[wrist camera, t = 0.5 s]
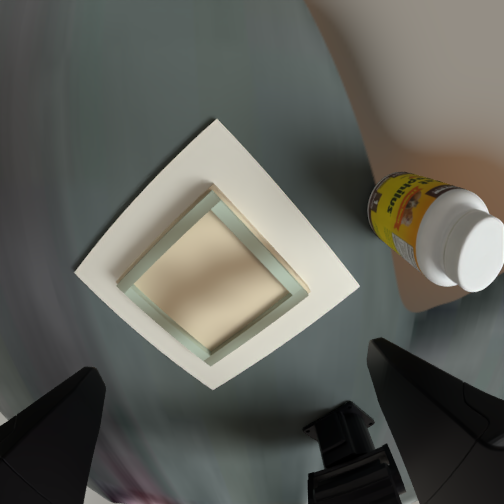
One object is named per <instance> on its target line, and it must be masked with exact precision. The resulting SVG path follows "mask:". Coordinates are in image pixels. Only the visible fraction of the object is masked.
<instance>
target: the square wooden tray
mask: <svg viewBox="0 0 504 504" xmlns="http://www.w3.org/2000/svg"><path fill="white" fill-rule="evenodd" d="M116 283H117V287H118V288H119V289H120V290H121V291H122V292H123V293H124V294H125V295H126V296H127V297H128V298H129V299H130V300H131V301H133V302H134V303H135V304H136V305H137V306H138V307H139V308H140V309H141V310H142V311H144V312H145V313H146V314H147V315H148V316H149V317H150V318H152V319H153V320H154V321H155V322H156V323H157V324H158V325H160V326H161V327H162V328H163V329H164V330H165V331H167V332H168V333H169V334H170V335H171V336H173V337H174V338H175V339H176V340H177V341H179V342H180V343H181V344H182V345H184V346H185V347H186V348H187V349H188V350H190V351H191V352H192V353H194V354H195V355H196V356H197V357H199V358H200V359H201V360H202V361H204V362H205V363H206V364H208V365H209V366H210V367H211V366H212V365H214V364H215V363H217V362H218V361H220V360H221V359H223V358H224V357H226V356H227V355H228V354H230V353H231V352H233V351H234V350H236V349H237V348H239V347H240V346H241V345H243V344H244V343H246V342H247V341H248V340H250V339H251V338H253V337H254V336H255V335H257V334H258V333H260V332H261V331H262V330H264V329H265V328H266V327H268V326H269V325H271V324H272V323H273V322H275V321H276V320H277V319H279V318H280V317H281V316H283V315H284V314H285V313H287V312H288V311H289V310H291V309H292V308H293V307H295V306H296V305H297V304H299V303H300V302H301V301H302V300H304V299H305V298H306V297H308V296H309V295H308V294H309V293H310V292H311V291H310V289H309V286H308V285H307V284H306V283H305V282H304V280H303V279H302V278H301V277H300V276H299V275H298V274H297V273H296V272H295V270H294V269H293V268H292V267H291V266H290V265H289V264H288V263H287V262H286V261H285V259H284V258H283V257H282V256H281V255H280V254H279V253H278V252H277V251H276V250H275V249H274V247H273V246H272V245H271V244H270V243H269V242H268V241H267V240H266V239H265V238H264V237H263V235H262V234H261V233H260V232H259V231H258V230H257V229H256V228H255V227H254V226H253V225H252V224H251V223H250V221H249V220H248V219H247V218H246V217H245V216H244V215H243V214H242V213H241V212H240V211H239V210H238V209H237V207H236V206H235V205H234V204H233V203H232V202H231V201H230V200H229V199H228V198H227V197H226V196H225V195H224V194H223V192H222V191H221V190H220V189H219V188H218V187H217V186H216V185H215V184H214V183H213V184H212V185H211V186H210V187H209V188H208V189H207V190H206V191H205V192H204V193H203V194H201V195H200V196H199V197H198V198H197V199H196V200H195V201H194V202H193V203H192V204H191V205H190V206H189V207H188V208H187V209H186V210H185V211H184V212H183V213H181V214H180V215H179V216H178V217H177V218H176V219H175V220H174V221H173V222H172V223H171V224H170V225H169V226H168V227H167V228H166V229H165V230H164V231H163V232H162V233H161V234H160V235H159V236H158V237H157V238H156V239H155V240H154V241H153V242H152V243H151V244H150V245H149V246H148V247H147V248H146V249H145V250H144V252H143V253H142V254H141V255H140V256H139V257H138V258H137V259H136V260H135V261H134V262H133V263H132V264H131V265H130V266H129V267H128V268H127V269H126V270H125V272H124V273H123V274H122V275H121V276H120V277H119V278H118V280H117V281H116Z"/></svg>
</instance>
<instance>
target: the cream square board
mask: <svg viewBox="0 0 504 504" xmlns="http://www.w3.org/2000/svg"><path fill="white" fill-rule="evenodd" d="M213 183H214V184H215V185H216V186H217V187H218V188H219V189H220V190H221V191H222V192H223V194H224V195H225V196H226V197H227V198H228V199H229V200H230V201H231V202H232V203H233V204H234V205H235V206H236V207H237V209H238V210H239V211H240V212H241V213H242V214H243V215H244V216H245V217H246V218H247V219H248V220H249V221H250V223H251V224H252V225H253V226H254V227H255V228H256V229H257V230H258V231H259V232H260V233H261V234H262V235H263V237H264V238H265V239H266V240H267V241H268V242H269V243H270V244H271V245H272V246H273V247H274V249H275V250H276V251H277V252H278V253H279V254H280V255H281V256H282V257H283V258H284V259H285V261H286V262H287V263H288V264H289V265H290V266H291V267H292V268H293V269H294V270H295V272H296V273H297V274H298V275H299V276H300V277H301V278H302V279H303V280H304V282H305V283H306V284H307V285H308V286H309V289H310V291H311V292H310V293H309V294H308V295H309V296H308V297H306V298H305V299H304V300H302V301H301V302H300V303H299V304H297V305H296V306H295V307H293V308H292V309H291V310H289V311H288V312H287V313H285V314H284V315H283V316H281V317H280V318H279V319H277V320H276V321H275V322H273V323H272V324H271V325H269V326H268V327H266V328H265V329H264V330H262V331H261V332H260V333H258V334H257V335H255V336H254V337H253V338H251V339H250V340H248V341H247V342H246V343H244V344H243V345H241V346H240V347H239V348H237V349H236V350H234V351H233V352H231V353H230V354H228V355H227V356H226V357H224V358H223V359H221V360H220V361H218V362H217V363H215V364H214V365H212V366H211V367H210V366H209V365H208V364H206V363H205V362H204V361H202V360H201V359H200V358H199V357H197V356H196V355H195V354H194V353H192V352H191V351H190V350H188V349H187V348H186V347H185V346H184V345H182V344H181V343H180V342H179V341H177V340H176V339H175V338H174V337H173V336H171V335H170V334H169V333H168V332H167V331H165V330H164V329H163V328H162V327H161V326H160V325H158V324H157V323H156V322H155V321H154V320H153V319H152V318H150V317H149V316H148V315H147V314H146V313H145V312H144V311H142V310H141V309H140V308H139V307H138V306H137V305H136V304H135V303H134V302H133V301H131V300H130V299H129V298H128V297H127V296H126V295H125V294H124V293H123V292H122V291H121V290H120V289H119V288H118V287H117V283H116V281H117V280H118V278H119V277H120V276H121V275H122V274H123V273H124V272H125V270H126V269H127V268H128V267H129V266H130V265H131V264H132V263H133V262H134V261H135V260H136V259H137V258H138V257H139V256H140V255H141V254H142V253H143V252H144V250H145V249H146V248H147V247H148V246H149V245H150V244H151V243H152V242H153V241H154V240H155V239H156V238H157V237H158V236H159V235H160V234H161V233H162V232H163V231H164V230H165V229H166V228H167V227H168V226H169V225H170V224H171V223H172V222H173V221H174V220H175V219H176V218H177V217H178V216H179V215H180V214H181V213H183V212H184V211H185V210H186V209H187V208H188V207H189V206H190V205H191V204H192V203H193V202H194V201H195V200H196V199H197V198H198V197H199V196H200V195H201V194H203V193H204V192H205V191H206V190H207V189H208V188H209V187H210V186H211V185H212V184H213ZM74 273H75V274H76V275H77V276H78V277H79V278H80V279H81V280H82V281H83V282H84V283H85V284H86V285H87V286H88V287H89V288H90V289H91V290H92V291H93V292H94V293H95V294H96V295H97V296H98V297H99V298H100V299H101V300H102V301H104V302H105V303H106V304H107V305H108V306H109V307H110V308H111V309H112V310H113V311H114V312H115V313H116V314H118V315H119V316H120V317H121V318H122V319H123V320H124V321H125V322H127V323H128V324H129V325H130V326H131V327H132V328H133V329H135V330H136V331H137V332H138V333H139V334H140V335H142V336H143V337H144V338H145V339H146V340H148V341H149V342H150V343H151V344H152V345H154V346H155V347H156V348H157V349H159V350H160V351H161V352H162V353H164V354H165V355H166V356H167V357H169V358H170V359H171V360H172V361H174V362H175V363H176V364H178V365H179V366H180V367H182V368H183V369H184V370H186V371H187V372H188V373H190V374H191V375H192V376H194V377H195V378H196V379H198V380H199V381H201V382H202V383H203V384H205V385H206V386H208V387H209V388H210V389H212V390H214V389H215V388H217V387H219V386H220V385H222V384H224V383H225V382H227V381H228V380H230V379H232V378H233V377H235V376H236V375H238V374H239V373H241V372H243V371H244V370H246V369H247V368H249V367H250V366H252V365H253V364H255V363H256V362H258V361H259V360H261V359H262V358H264V357H265V356H267V355H268V354H270V353H271V352H273V351H274V350H276V349H277V348H278V347H280V346H281V345H283V344H284V343H286V342H287V341H288V340H290V339H291V338H293V337H294V336H295V335H297V334H298V333H300V332H301V331H302V330H304V329H305V328H307V327H308V326H309V325H311V324H312V323H313V322H315V321H316V320H317V319H319V318H320V317H321V316H323V315H324V314H325V313H327V312H328V311H329V310H331V309H332V308H333V307H334V306H336V305H337V304H338V303H340V302H341V301H342V300H343V299H345V298H346V297H347V296H349V295H350V294H351V293H352V292H354V291H355V290H356V289H357V288H359V287H360V286H359V284H358V283H357V282H356V280H355V279H354V278H353V276H352V275H351V274H350V273H349V271H348V270H347V269H346V267H345V266H344V265H343V264H342V262H341V261H340V260H339V258H338V257H337V256H336V255H335V253H334V252H333V251H332V250H331V248H330V247H329V246H328V245H327V243H326V242H325V241H324V240H323V238H322V237H321V236H320V235H319V234H318V232H317V231H316V230H315V229H314V227H313V226H312V225H311V224H310V223H309V221H308V220H307V219H306V218H305V217H304V215H303V214H302V213H301V212H300V211H299V209H298V208H297V207H296V206H295V205H294V204H293V202H292V201H291V200H290V199H289V198H288V197H287V195H286V194H285V193H284V192H283V191H282V190H281V188H280V187H279V186H278V185H277V184H276V183H275V182H274V180H273V179H272V178H271V177H270V176H269V175H268V174H267V172H266V171H265V170H264V169H263V168H262V167H261V166H260V165H259V164H258V162H257V161H256V160H255V159H254V158H253V157H252V156H251V155H250V154H249V152H248V151H247V150H246V149H245V148H244V147H243V146H242V145H241V144H240V143H239V142H238V141H237V139H236V138H235V137H234V136H233V135H232V134H231V133H230V132H229V131H228V130H227V129H226V128H225V127H224V126H223V125H222V124H221V122H220V121H219V120H218V119H216V120H215V121H214V122H213V123H212V124H210V125H209V126H208V127H207V128H206V129H205V130H204V131H203V132H202V133H201V134H199V135H198V136H197V137H196V138H195V139H194V140H193V141H192V142H191V143H190V144H189V145H188V146H187V147H186V148H185V149H183V150H182V151H181V152H180V153H179V154H178V155H177V156H176V157H175V158H174V159H173V160H172V161H171V162H170V163H169V164H168V165H167V166H166V167H165V168H164V169H163V170H162V171H161V172H160V173H159V174H158V175H157V176H156V177H155V178H154V180H153V181H152V182H151V183H150V184H149V185H148V186H147V187H146V188H145V189H144V190H143V191H142V192H141V193H140V194H139V195H138V197H137V198H136V199H135V200H134V201H133V202H132V203H131V204H130V205H129V206H128V208H127V209H126V210H125V211H124V212H123V213H122V214H121V216H120V217H119V218H118V219H117V220H116V221H115V222H114V224H113V225H112V226H111V227H110V228H109V230H108V231H107V232H106V233H105V234H104V236H103V237H102V238H101V239H100V240H99V242H98V243H97V244H96V245H95V247H94V248H93V249H92V250H91V252H90V253H89V254H88V255H87V257H86V258H85V259H84V261H83V262H82V263H81V264H80V266H79V267H78V268H77V270H76V271H75V272H74Z"/></svg>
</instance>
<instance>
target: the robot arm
mask: <svg viewBox="0 0 504 504" xmlns="http://www.w3.org/2000/svg"><path fill="white" fill-rule="evenodd" d="M367 366H368V369H369V372H370V375H371V379H372V382H373V385H374V388H375V392H376V395H377V398H378V402H379V405H380V407H381V410H382V412H383V414H384V416H385V419H386V421H387V423H388V426H389V428H390V430H391V433H392V435H393V437H394V440H395V442H396V445H397V447H398V449H399V452H400V454H401V457H402V459H403V462H404V464H405V467H406V469H407V472H408V474H409V477H410V479H411V482H412V485H413V487H414V490H415V492H416V495H417V498H418V500H419V503H420V504H504V400H502V399H499V398H497V397H495V396H492V395H490V394H488V393H485V392H483V391H481V390H479V389H477V388H475V387H473V386H471V385H469V384H468V383H466V382H463V381H462V380H460V379H458V378H456V377H454V376H452V375H451V374H449V373H447V372H445V371H443V370H441V369H439V368H438V367H436V366H434V365H432V364H430V363H428V362H426V361H425V360H423V359H421V358H419V357H417V356H415V355H414V354H412V353H410V352H408V351H406V350H404V349H403V348H401V347H399V346H397V345H395V344H393V343H392V342H390V341H388V340H386V339H384V338H382V337H380V338H376V339H372V340H370V341H369V346H368V354H367ZM105 393H106V386H105V383H104V381H103V379H102V377H101V376H100V374H99V372H98V370H97V369H96V368H95V367H84V368H82V369H81V370H79V371H78V372H77V373H75V374H74V375H72V376H71V377H69V378H68V379H67V380H65V381H64V382H62V383H61V384H60V385H58V386H57V387H55V388H54V389H52V390H51V391H50V392H48V393H47V394H45V395H44V396H43V397H41V398H40V399H38V400H37V401H35V402H34V403H33V404H31V405H30V406H28V407H27V408H26V409H24V410H23V411H21V412H20V413H18V414H17V416H14V417H13V418H11V419H10V420H8V421H7V422H6V423H4V424H3V425H1V426H0V504H83V503H84V498H85V492H86V487H87V482H88V477H89V472H90V467H91V463H92V458H93V454H94V449H95V445H96V441H97V437H98V433H99V429H100V424H101V418H102V411H103V405H104V399H105ZM374 423H375V422H374V420H373V419H372V418H371V417H370V416H369V415H367V414H366V413H365V412H364V411H363V410H361V409H360V408H359V407H358V406H356V405H355V404H354V403H353V402H348V403H346V404H344V405H343V406H341V407H339V408H338V409H336V410H334V411H333V412H331V413H329V414H328V415H326V416H324V417H322V418H321V419H319V420H317V421H315V422H314V423H312V424H310V425H308V426H306V427H304V428H303V432H304V433H305V434H306V435H308V436H310V437H311V438H313V439H315V440H317V441H318V443H319V448H320V452H321V456H322V461H323V465H324V470H321V471H318V472H312V473H309V474H308V504H402V503H401V500H400V497H399V495H400V494H403V493H405V492H406V490H405V487H404V484H403V481H402V479H401V476H400V473H399V471H398V468H397V466H396V463H395V461H394V459H393V456H392V454H391V452H390V449H389V447H388V444H384V445H382V447H380V448H377V449H375V447H374V444H373V442H372V439H371V436H370V434H369V431H368V428H369V427H370V426H372V425H373V424H374ZM388 464H389V465H388Z"/></svg>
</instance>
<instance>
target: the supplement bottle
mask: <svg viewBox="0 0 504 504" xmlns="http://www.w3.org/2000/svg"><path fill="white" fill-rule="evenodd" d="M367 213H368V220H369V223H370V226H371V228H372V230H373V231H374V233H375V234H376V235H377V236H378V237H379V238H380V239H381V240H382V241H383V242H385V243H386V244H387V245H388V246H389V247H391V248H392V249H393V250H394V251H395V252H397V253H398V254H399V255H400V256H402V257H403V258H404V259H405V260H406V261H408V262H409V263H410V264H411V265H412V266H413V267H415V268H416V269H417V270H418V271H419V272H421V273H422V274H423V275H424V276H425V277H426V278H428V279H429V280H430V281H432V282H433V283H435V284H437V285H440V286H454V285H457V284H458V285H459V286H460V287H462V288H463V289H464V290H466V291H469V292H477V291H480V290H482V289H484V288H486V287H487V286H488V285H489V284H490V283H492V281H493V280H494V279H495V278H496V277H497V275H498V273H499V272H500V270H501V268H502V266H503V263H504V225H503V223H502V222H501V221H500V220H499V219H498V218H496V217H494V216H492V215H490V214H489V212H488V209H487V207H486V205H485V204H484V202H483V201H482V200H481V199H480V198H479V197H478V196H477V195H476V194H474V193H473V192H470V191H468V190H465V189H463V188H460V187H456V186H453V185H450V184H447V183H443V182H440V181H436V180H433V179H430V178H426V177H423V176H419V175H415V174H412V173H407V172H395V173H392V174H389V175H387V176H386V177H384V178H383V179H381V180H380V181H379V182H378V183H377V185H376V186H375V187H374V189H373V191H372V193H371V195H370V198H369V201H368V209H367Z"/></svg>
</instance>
